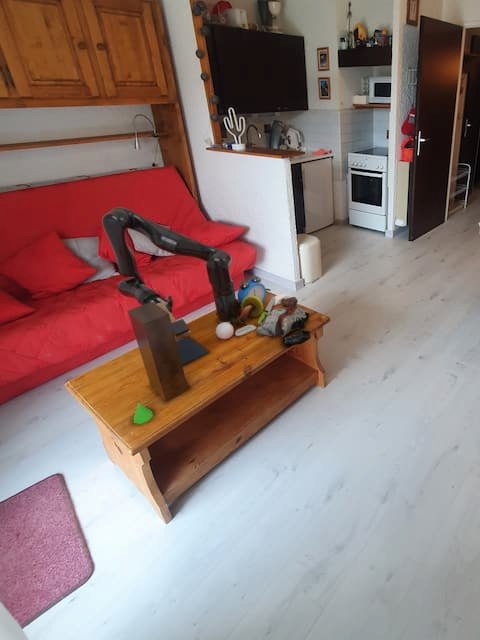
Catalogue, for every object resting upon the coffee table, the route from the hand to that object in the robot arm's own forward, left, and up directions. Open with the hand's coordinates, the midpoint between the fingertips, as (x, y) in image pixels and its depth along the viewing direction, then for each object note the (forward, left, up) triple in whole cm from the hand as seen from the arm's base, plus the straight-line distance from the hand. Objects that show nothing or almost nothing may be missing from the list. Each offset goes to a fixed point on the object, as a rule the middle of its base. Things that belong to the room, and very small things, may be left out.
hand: (166, 312), depth 152 cm
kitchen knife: (-43, +8, -16) cm, 47 cm away
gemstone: (+25, +29, -17) cm, 42 cm away
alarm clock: (-42, -4, -17) cm, 45 cm away
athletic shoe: (-38, +24, -7) cm, 46 cm away
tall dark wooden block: (+13, +22, -17) cm, 31 cm away
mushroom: (-26, +10, -9) cm, 29 cm away
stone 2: (-56, +10, -18) cm, 60 cm away
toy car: (-35, +36, -13) cm, 52 cm away
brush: (0, +2, -4) cm, 4 cm away
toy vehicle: (-54, +4, -16) cm, 56 cm away
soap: (-26, +12, -15) cm, 32 cm away
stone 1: (-40, +21, -15) cm, 48 cm away
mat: (-1, +5, -17) cm, 18 cm away
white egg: (-17, +14, -12) cm, 25 cm away
